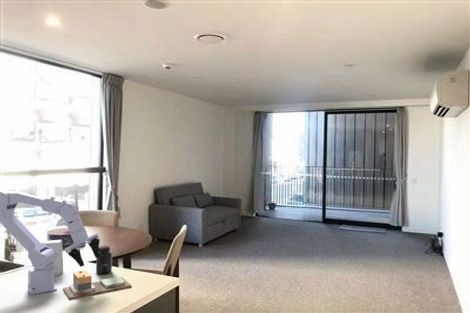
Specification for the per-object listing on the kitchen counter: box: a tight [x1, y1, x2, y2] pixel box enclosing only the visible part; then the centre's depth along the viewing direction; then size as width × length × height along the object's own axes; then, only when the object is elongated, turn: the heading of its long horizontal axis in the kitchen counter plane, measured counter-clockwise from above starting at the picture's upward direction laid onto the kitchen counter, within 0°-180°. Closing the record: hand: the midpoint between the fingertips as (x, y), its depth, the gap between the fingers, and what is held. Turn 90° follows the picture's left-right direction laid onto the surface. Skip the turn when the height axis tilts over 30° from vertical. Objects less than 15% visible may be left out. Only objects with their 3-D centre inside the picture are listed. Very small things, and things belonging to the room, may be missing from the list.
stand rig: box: [62, 276, 133, 300], centre depth 155 cm, size 24×12×2 cm, turn 125°
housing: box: [72, 270, 92, 291], centre depth 151 cm, size 5×8×5 cm, turn 35°
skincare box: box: [41, 239, 64, 276], centre depth 173 cm, size 8×6×15 cm
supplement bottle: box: [95, 245, 113, 276], centre depth 175 cm, size 7×7×12 cm
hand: (90, 261), depth 154 cm, fingers open, 7 cm apart
